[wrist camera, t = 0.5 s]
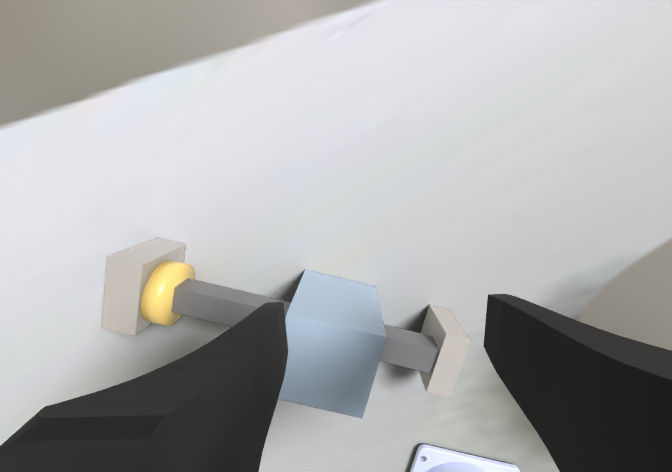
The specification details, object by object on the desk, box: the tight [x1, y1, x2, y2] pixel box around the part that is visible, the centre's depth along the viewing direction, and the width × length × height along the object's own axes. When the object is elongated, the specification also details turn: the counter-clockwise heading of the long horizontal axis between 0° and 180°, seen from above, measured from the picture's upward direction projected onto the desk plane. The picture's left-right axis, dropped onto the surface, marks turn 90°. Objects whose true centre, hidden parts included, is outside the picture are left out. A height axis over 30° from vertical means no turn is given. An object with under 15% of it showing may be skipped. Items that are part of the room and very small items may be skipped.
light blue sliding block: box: [278, 270, 387, 418], centre depth 19 cm, size 5×5×7 cm
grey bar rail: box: [101, 237, 471, 398], centre depth 20 cm, size 21×4×5 cm, turn 77°
